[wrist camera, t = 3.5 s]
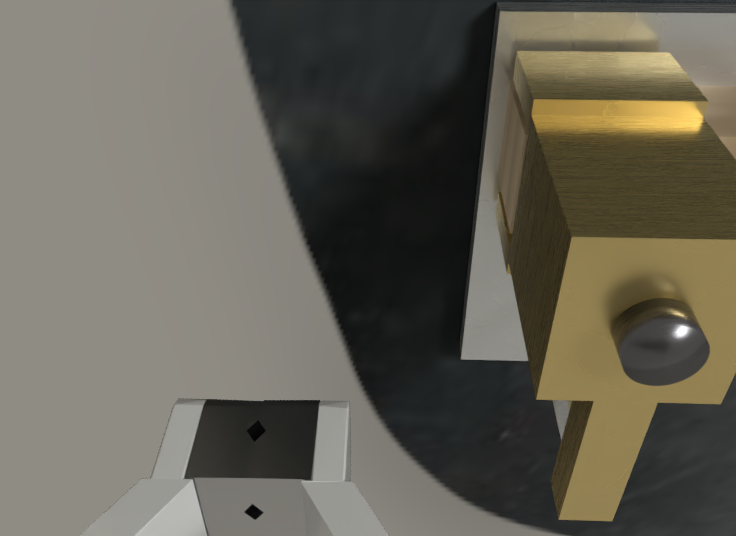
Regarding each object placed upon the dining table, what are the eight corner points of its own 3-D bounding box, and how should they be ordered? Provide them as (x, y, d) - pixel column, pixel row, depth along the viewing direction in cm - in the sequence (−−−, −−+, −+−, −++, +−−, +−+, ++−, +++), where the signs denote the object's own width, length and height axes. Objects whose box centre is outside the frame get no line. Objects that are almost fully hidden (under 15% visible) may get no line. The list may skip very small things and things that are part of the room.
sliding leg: (669, 52, 18) (828, 249, 12) (596, 320, 24) (673, 555, 17) (516, 50, 18) (584, 245, 12) (481, 318, 24) (513, 550, 18)
